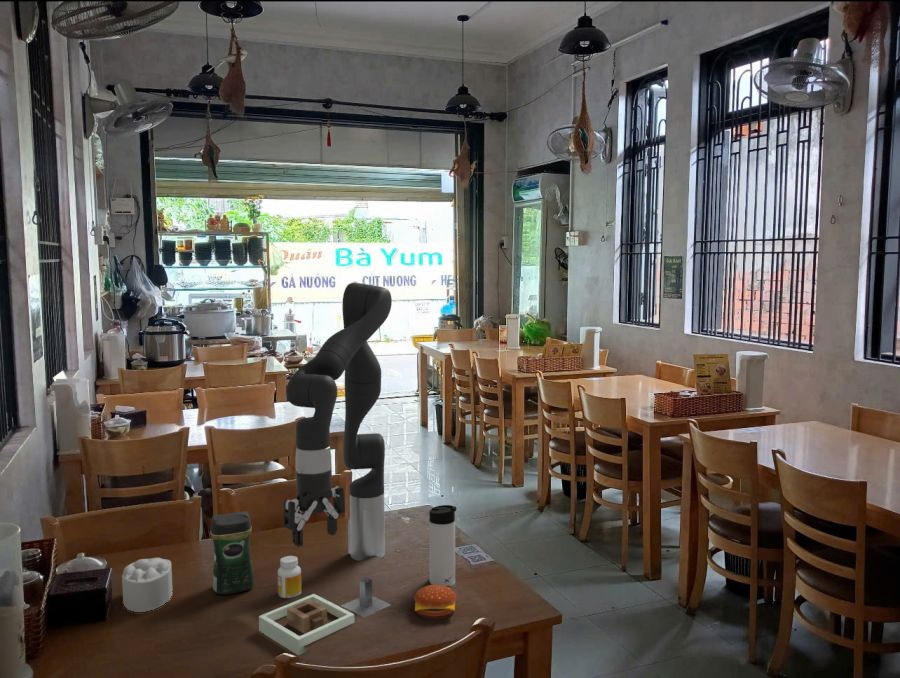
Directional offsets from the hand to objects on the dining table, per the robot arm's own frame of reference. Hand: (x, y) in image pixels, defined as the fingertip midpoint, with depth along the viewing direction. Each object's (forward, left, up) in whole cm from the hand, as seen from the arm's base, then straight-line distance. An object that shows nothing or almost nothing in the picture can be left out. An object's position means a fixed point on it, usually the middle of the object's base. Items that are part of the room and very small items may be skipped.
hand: (315, 539), depth 155 cm
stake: (+4, +11, -19) cm, 22 cm away
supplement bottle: (-14, +3, -19) cm, 24 cm away
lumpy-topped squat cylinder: (-38, -20, -19) cm, 47 cm away
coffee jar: (-29, -3, -19) cm, 35 cm away
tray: (+1, -3, -19) cm, 19 cm away
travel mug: (+8, +32, -19) cm, 38 cm away
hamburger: (+17, +20, -19) cm, 32 cm away
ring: (+1, -3, -18) cm, 18 cm away
